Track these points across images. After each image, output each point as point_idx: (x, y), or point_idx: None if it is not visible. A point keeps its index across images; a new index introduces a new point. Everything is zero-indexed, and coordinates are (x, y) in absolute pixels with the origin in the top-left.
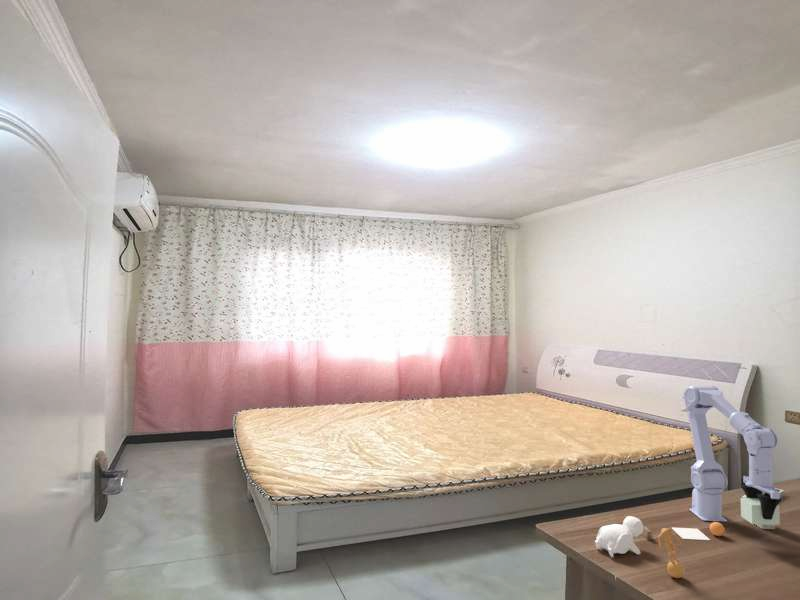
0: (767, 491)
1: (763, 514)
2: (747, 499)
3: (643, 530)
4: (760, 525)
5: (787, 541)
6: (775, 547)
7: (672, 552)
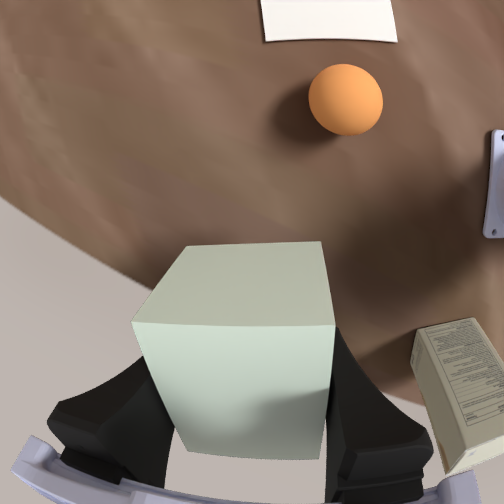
0: (41, 476)
1: None
2: (288, 362)
3: None
4: (427, 333)
5: None
6: None
7: None
